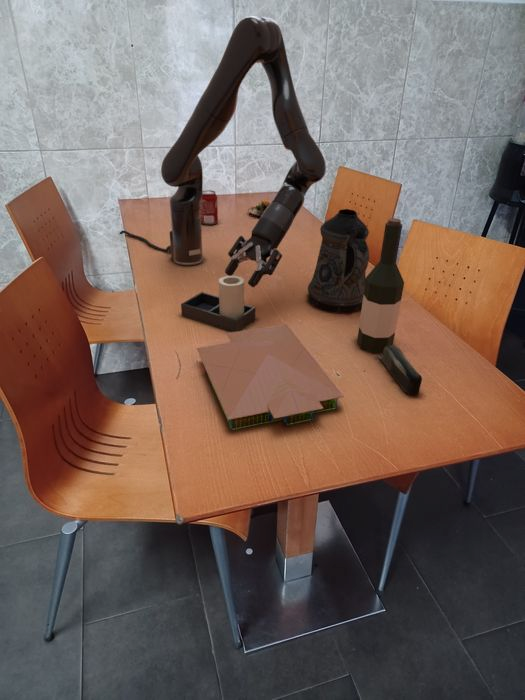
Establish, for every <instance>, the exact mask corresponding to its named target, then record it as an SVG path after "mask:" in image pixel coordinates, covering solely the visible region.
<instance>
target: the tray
mask: <svg viewBox="0 0 525 700" xmlns="http://www.w3.org/2000/svg"><path fill="white" fill-rule="evenodd" d="M180 309H181V311H180V312H181V317H184V318H188V319H190V320H194V321H198V322H200V323H204V324H206V325H210V326H213V327H216V328H219V329H222V330H224V331H228V332H237V331H243V329H244V328H245V327H247V326H248V325H250V324H251V323H253V322H254V321H255V320H256V307H255V306H251V305H248V304H245V303H244V314H243V315H242V316H240V317H239V318H237V319H236V320H235V319H232V318H229V317H225V316H222V315H220V311H219V296H217V295H214V294H210V293H208V292H203V291H201V292H199V293H197V294H196V295H194V296H192V297H190V298H189V299H186V300H185V301H183V302H182V303H181V304H180Z"/></svg>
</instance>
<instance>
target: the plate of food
mask: <svg viewBox="0 0 525 700" xmlns="http://www.w3.org/2000/svg"><path fill="white" fill-rule="evenodd" d="M269 197H270V196H268V198H267V199H261V200H260V202H258V205H256V206H252V207H249V208H248V209H247V212H248V213H250V214H252V215H254V216H259V217H261V216H262V214H263V213H264V211H265V210H266V208H267V207H268V206H269V205H270V203H271V202H270V201H269V200H268V199H269Z"/></svg>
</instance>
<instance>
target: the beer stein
mask: <svg viewBox="0 0 525 700" xmlns="http://www.w3.org/2000/svg"><path fill="white" fill-rule="evenodd" d="M319 231H320V235H321V243H320V248H319V252H318V256H317V261H316V265H315V269H314V272H313V275H312V278H311V280H310V282H309V284H308V286H307V293H308V294H307V295H308V301H309V303H310V304H311V305H312V306H314V307H315V308H316V309H319V310H321V311H324V312H328V313H334V314H349V313H354V312H357V311H359V310H362V303H363V295H364V288H365V281H366V277H367V275H366V271H367V269H368V266H369V261H370V250H369V246H368V243H367V241H366V240H367V239H368V236H369V234H370V230H369V228H368V226H367V225H366V224H365V223H364V222H363V221H362V220H361V218H360V217H359V216H358V214H357V211H356V210H353V209H348V208H345V209H339V210H338V212H337V213H336V214H335V215H334V216H333V217H331V218H329V219H327V220H326V221H325V222H324V223H322V225H321V226H320V229H319Z"/></svg>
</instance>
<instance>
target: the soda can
mask: <svg viewBox="0 0 525 700" xmlns="http://www.w3.org/2000/svg"><path fill="white" fill-rule="evenodd" d="M216 192H217V191H215V190H211V189H210V190H209V189H207V190H205V189H204V190H203V194H202V199H201V202H200V210H201V224H203V225H206V226H212V225H216V224H217V223H218V222H219V212H218V211H219V210H218V205H219V204H218V195H217V194H216Z"/></svg>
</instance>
